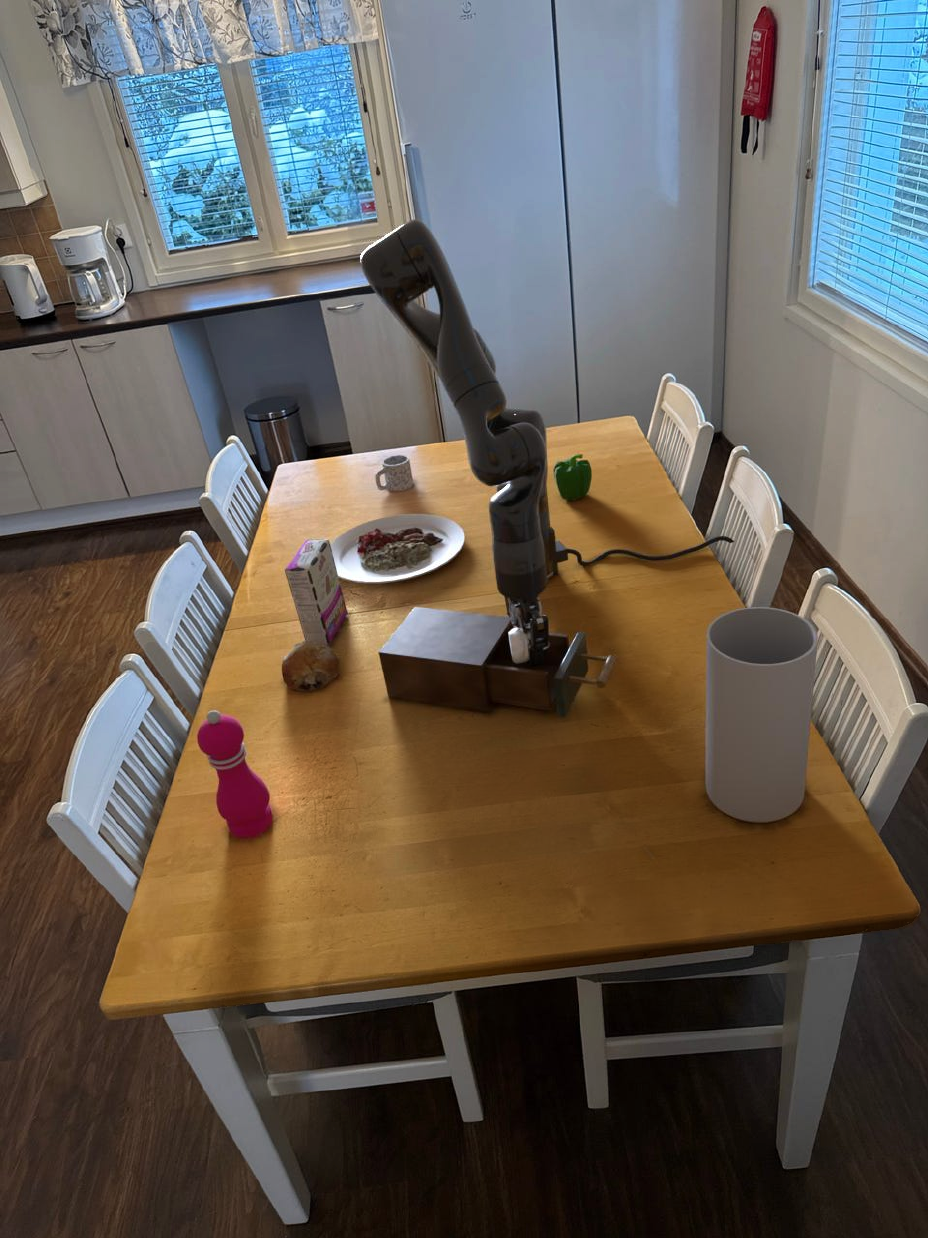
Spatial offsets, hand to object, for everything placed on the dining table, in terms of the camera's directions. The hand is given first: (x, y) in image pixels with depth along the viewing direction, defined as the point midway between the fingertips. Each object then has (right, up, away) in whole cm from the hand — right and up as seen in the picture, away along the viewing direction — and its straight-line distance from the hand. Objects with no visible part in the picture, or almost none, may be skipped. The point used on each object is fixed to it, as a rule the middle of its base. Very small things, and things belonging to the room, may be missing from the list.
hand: (530, 654), depth 142 cm
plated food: (-25, +19, +51) cm, 60 cm away
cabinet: (-12, -5, +9) cm, 16 cm away
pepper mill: (-40, -24, -13) cm, 48 cm away
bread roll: (-37, -5, +16) cm, 40 cm away
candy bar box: (-36, +3, +29) cm, 46 cm away
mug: (-27, +37, +81) cm, 93 cm away
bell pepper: (+14, +33, +63) cm, 73 cm away
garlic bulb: (0, -1, 0) cm, 1 cm away
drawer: (+2, -6, +3) cm, 7 cm away
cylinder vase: (+28, -18, -21) cm, 39 cm away
